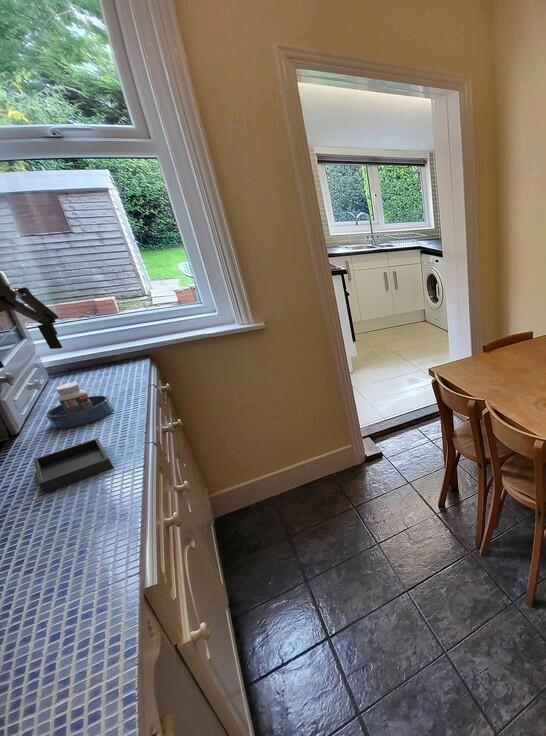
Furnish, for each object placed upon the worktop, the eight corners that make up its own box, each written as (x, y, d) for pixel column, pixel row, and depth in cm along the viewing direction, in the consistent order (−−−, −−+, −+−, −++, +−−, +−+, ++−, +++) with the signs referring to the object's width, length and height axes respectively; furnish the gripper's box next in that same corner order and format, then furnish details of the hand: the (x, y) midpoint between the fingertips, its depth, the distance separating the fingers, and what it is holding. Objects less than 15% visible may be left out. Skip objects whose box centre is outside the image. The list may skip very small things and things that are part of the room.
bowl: (55, 433, 111) (47, 421, 109) (52, 420, 119) (44, 408, 117) (116, 415, 120) (110, 402, 118) (109, 403, 128) (103, 391, 126)
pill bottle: (94, 417, 118) (77, 386, 114) (68, 423, 116) (49, 392, 111) (98, 410, 123) (82, 379, 119) (73, 416, 120) (55, 385, 116)
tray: (39, 468, 96) (33, 459, 95) (102, 446, 104) (97, 437, 102) (45, 493, 87) (38, 483, 86) (113, 467, 94) (108, 458, 93)
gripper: (-79, 282, 84) (-17, 377, 93) (49, 263, 106) (89, 340, 115) (-113, 284, 84) (-47, 378, 93) (22, 264, 107) (64, 341, 116)
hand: (28, 357), depth 104 cm, fingers open, 13 cm apart
